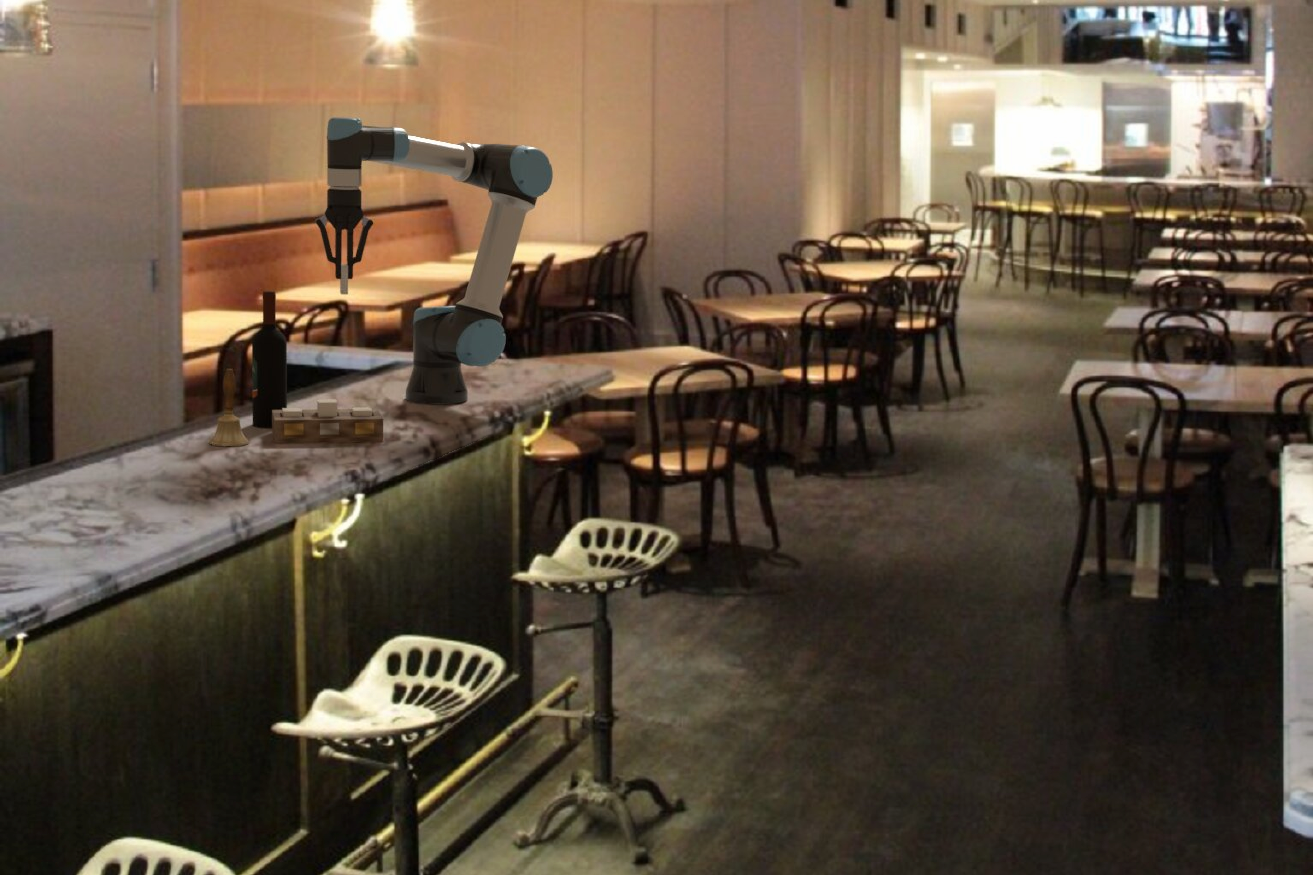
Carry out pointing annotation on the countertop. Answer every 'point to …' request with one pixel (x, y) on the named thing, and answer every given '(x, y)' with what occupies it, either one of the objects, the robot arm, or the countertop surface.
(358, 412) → the inner button
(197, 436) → the countertop surface
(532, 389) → the countertop surface
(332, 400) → the middle button
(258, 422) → the wine bottle
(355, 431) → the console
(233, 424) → the hand bell
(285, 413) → the outer button
